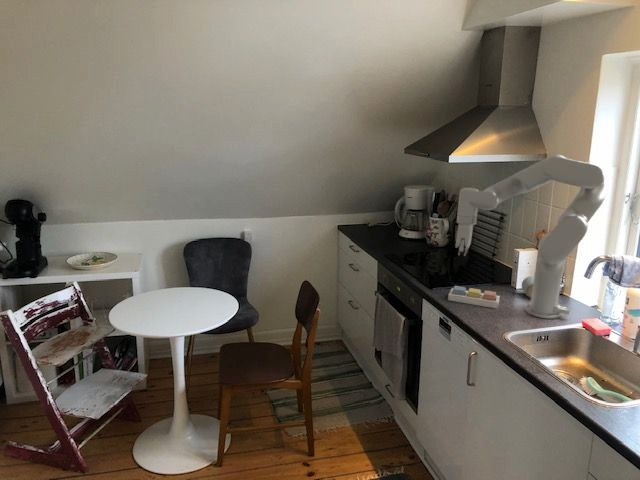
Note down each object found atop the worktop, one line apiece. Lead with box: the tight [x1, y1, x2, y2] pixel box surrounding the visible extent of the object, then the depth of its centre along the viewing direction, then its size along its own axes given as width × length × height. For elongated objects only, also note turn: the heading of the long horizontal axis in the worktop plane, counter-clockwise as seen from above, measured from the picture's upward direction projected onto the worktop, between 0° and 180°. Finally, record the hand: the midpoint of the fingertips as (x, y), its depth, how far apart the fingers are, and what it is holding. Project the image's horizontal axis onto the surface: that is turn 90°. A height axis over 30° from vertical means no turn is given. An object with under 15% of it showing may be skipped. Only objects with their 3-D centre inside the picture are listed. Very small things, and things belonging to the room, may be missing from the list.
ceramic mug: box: [521, 276, 534, 299], centre depth 213 cm, size 11×8×8 cm
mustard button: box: [467, 287, 482, 298], centre depth 206 cm, size 4×4×3 cm
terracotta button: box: [483, 290, 497, 301], centre depth 204 cm, size 4×4×3 cm
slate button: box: [452, 285, 467, 296], centre depth 209 cm, size 4×4×3 cm
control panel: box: [447, 287, 501, 309], centre depth 207 cm, size 19×8×2 cm, turn 67°
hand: (462, 263), depth 205 cm, fingers open, 3 cm apart
